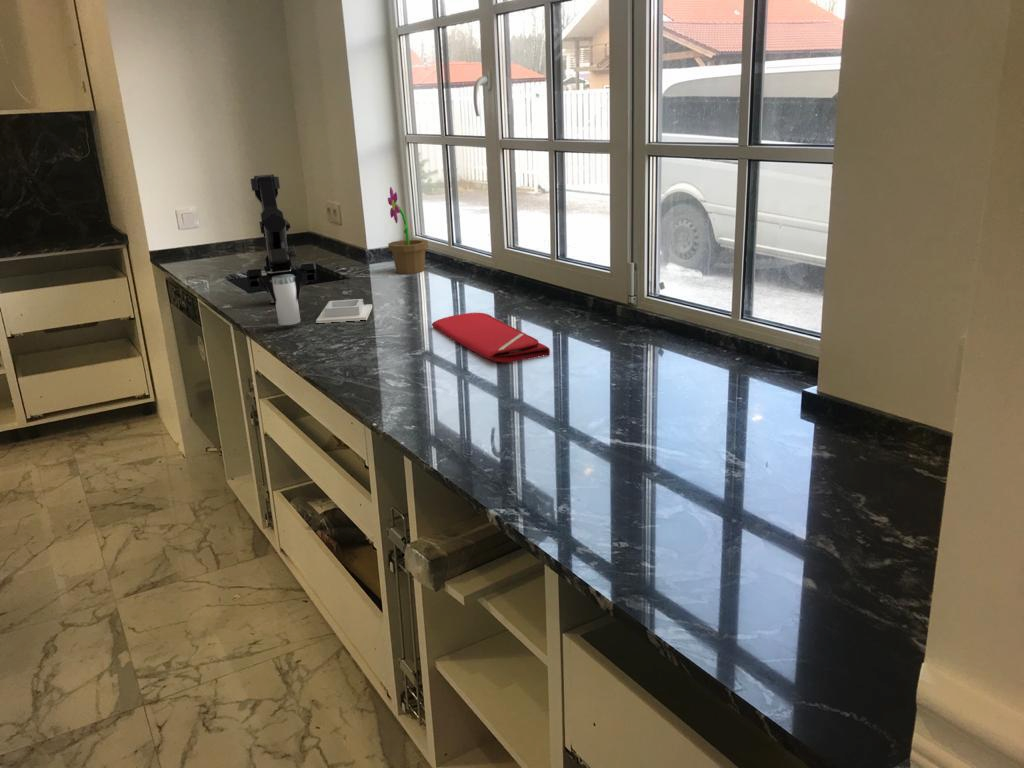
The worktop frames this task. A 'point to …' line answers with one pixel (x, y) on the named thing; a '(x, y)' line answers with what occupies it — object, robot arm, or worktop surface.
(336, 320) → the white square stand
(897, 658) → the worktop surface
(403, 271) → the flowerpot
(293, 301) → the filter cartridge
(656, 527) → the worktop surface
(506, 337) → the folded red towel
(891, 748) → the worktop surface
